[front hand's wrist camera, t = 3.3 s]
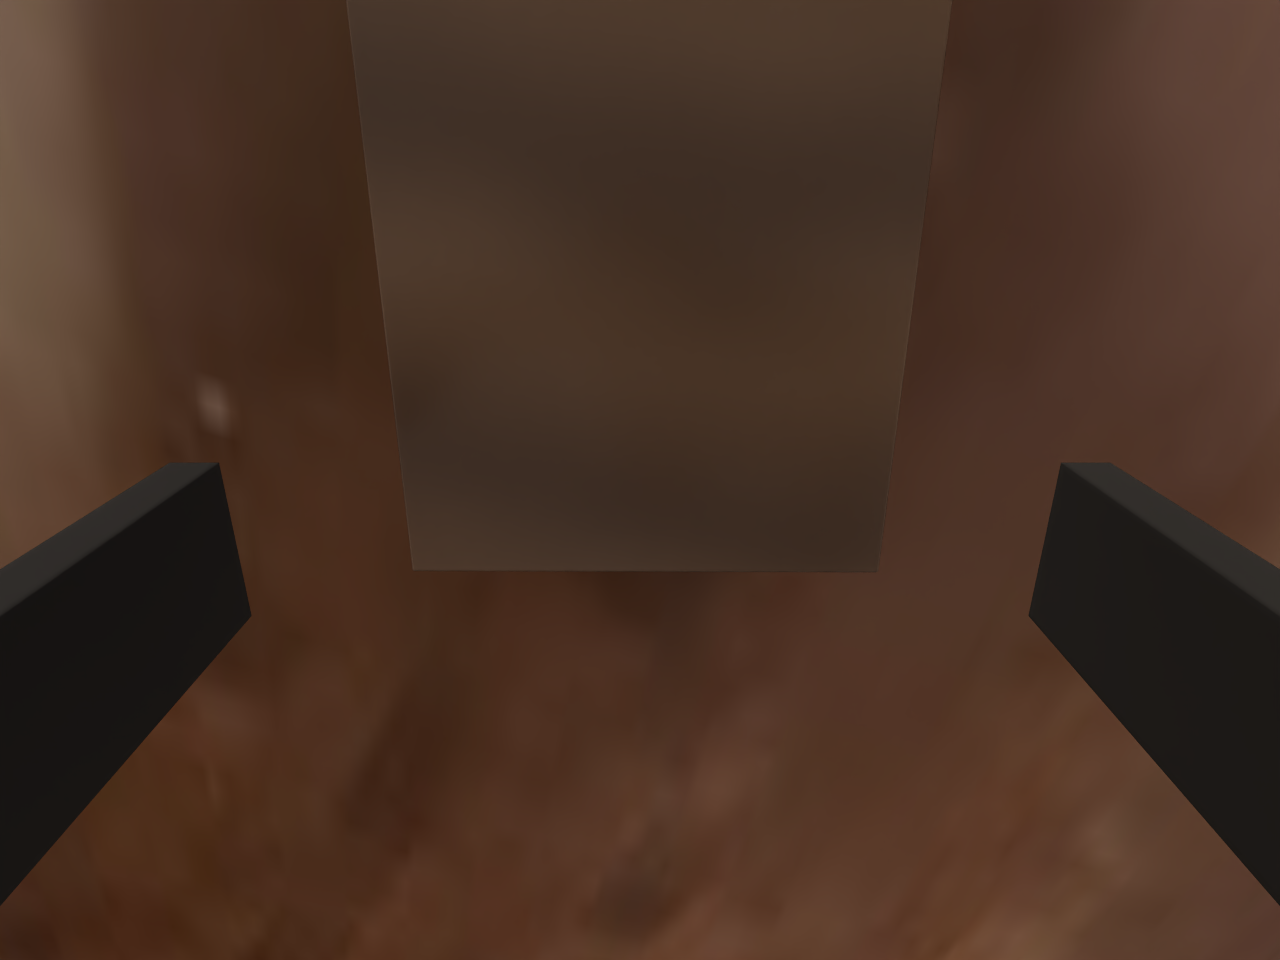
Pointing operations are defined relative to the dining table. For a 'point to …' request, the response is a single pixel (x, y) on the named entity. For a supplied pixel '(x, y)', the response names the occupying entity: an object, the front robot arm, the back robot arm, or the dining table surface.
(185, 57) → the dining table surface
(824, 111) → the taupe rectangular block
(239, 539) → the dining table surface
